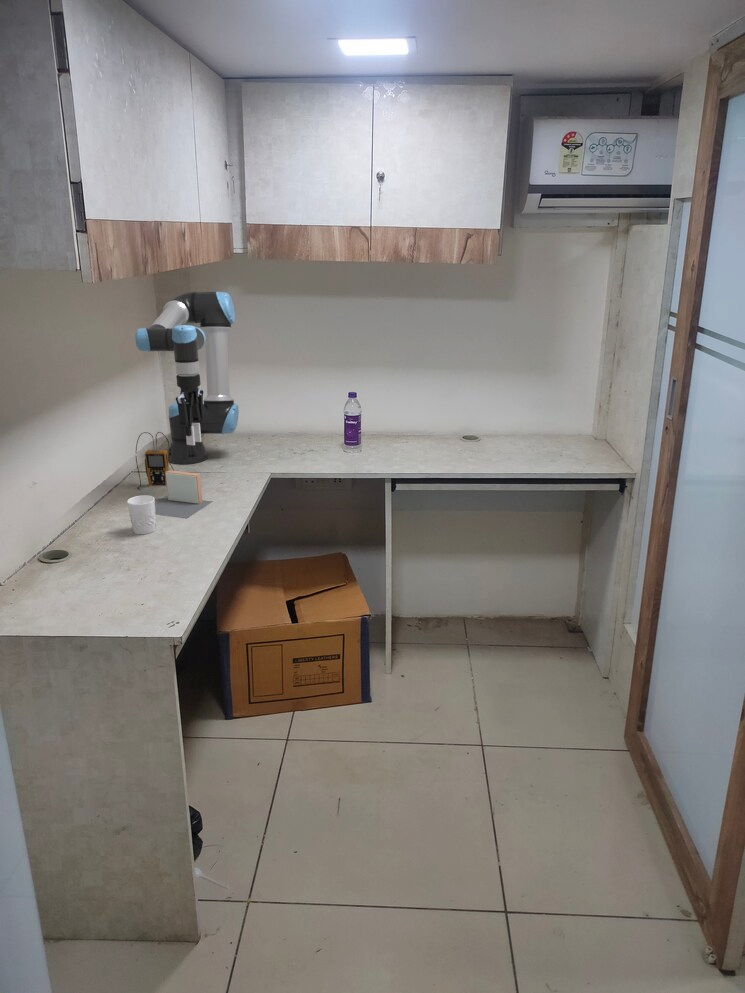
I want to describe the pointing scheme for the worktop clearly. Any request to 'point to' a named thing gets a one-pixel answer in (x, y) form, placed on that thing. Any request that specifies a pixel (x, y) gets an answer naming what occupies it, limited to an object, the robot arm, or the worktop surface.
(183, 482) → the tile
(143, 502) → the white cup
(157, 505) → the mat
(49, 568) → the worktop surface
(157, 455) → the multimeter
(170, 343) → the robot arm
